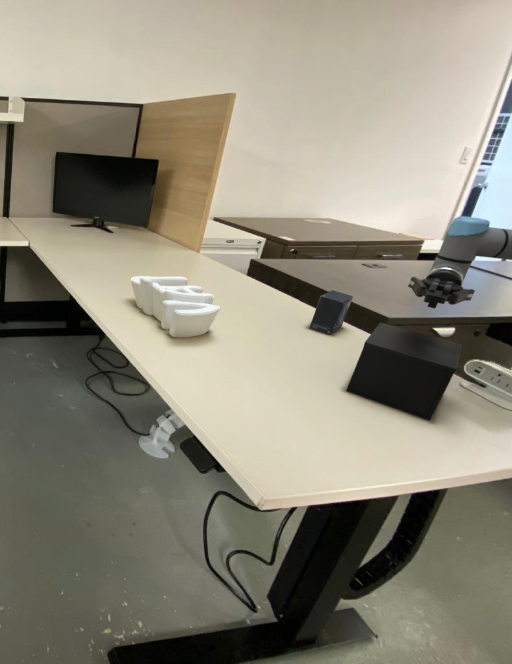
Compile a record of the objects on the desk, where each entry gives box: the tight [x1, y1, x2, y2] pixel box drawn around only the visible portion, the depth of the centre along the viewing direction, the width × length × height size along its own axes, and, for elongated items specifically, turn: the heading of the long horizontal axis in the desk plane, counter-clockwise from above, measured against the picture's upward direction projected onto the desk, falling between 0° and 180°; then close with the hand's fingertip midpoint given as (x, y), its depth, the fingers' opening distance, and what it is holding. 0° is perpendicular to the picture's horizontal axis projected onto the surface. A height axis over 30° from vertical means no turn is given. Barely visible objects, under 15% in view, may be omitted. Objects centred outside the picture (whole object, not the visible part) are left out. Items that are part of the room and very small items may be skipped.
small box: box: [308, 289, 354, 336], centre depth 139 cm, size 11×6×10 cm, turn 134°
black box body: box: [345, 344, 455, 422], centre depth 104 cm, size 17×16×12 cm
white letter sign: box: [130, 275, 221, 338], centre depth 136 cm, size 35×16×11 cm, turn 11°
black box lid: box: [363, 322, 463, 373], centre depth 101 cm, size 18×16×1 cm
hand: (433, 302), depth 104 cm, fingers closed
